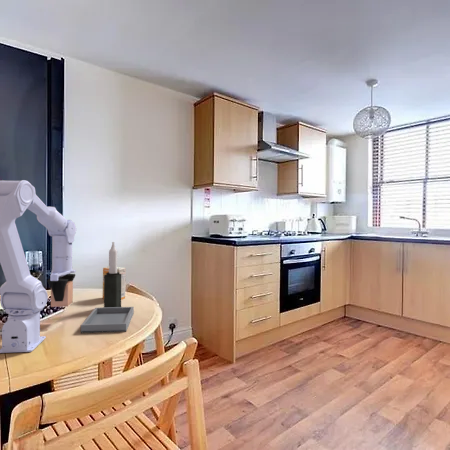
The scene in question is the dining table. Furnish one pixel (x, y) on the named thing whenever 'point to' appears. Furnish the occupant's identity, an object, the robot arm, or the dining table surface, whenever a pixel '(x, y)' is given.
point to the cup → (67, 296)
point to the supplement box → (123, 279)
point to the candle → (112, 281)
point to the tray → (108, 320)
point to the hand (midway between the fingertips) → (62, 298)
